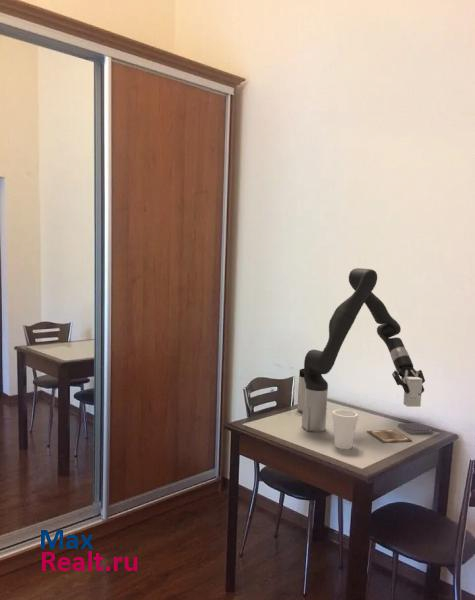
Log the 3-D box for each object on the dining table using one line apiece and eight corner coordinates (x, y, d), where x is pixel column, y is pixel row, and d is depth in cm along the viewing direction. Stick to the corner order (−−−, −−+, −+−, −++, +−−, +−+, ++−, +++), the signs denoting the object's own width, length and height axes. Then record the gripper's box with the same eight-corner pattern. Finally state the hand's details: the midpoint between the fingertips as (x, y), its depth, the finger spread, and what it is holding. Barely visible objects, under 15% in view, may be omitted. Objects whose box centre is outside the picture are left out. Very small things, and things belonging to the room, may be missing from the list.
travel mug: (312, 410, 242) (314, 368, 241) (308, 413, 236) (310, 371, 235) (300, 408, 245) (302, 367, 243) (295, 411, 239) (297, 369, 237)
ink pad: (411, 434, 213) (411, 431, 213) (398, 426, 223) (398, 423, 223) (432, 433, 216) (432, 430, 216) (418, 425, 226) (418, 422, 226)
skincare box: (407, 407, 218) (409, 379, 217) (402, 403, 222) (404, 376, 221) (421, 406, 219) (423, 379, 217) (416, 403, 223) (417, 376, 222)
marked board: (383, 443, 202) (383, 441, 202) (366, 432, 214) (367, 430, 214) (412, 441, 205) (412, 439, 205) (394, 430, 218) (394, 429, 218)
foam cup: (355, 443, 200) (357, 411, 199) (355, 451, 191) (357, 418, 190) (331, 440, 202) (333, 408, 201) (330, 448, 193) (332, 415, 192)
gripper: (390, 355, 224) (404, 388, 213) (419, 354, 228) (434, 387, 217) (383, 364, 229) (396, 397, 219) (411, 363, 233) (425, 396, 223)
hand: (415, 392), depth 218 cm, fingers closed on skincare box, 6 cm apart
